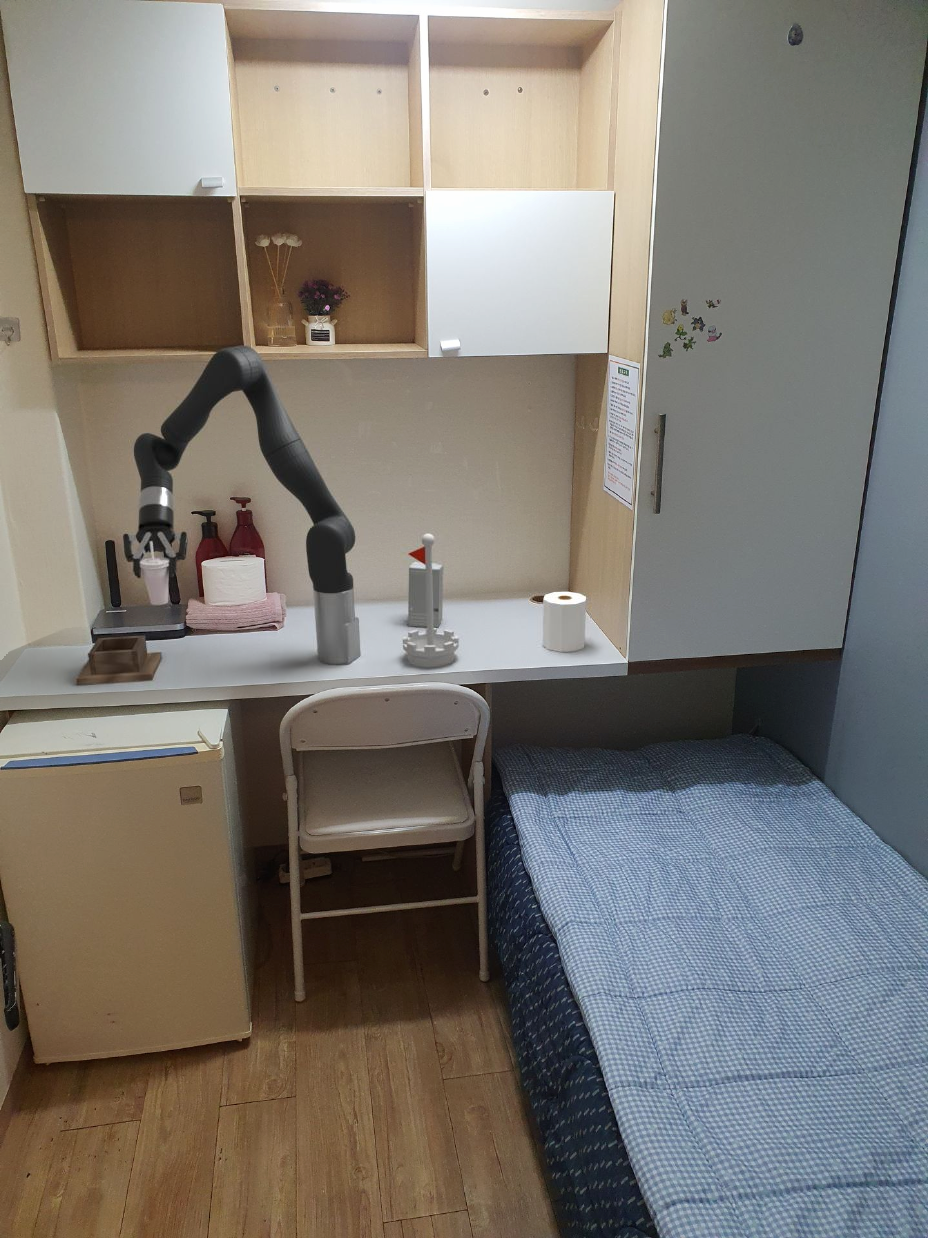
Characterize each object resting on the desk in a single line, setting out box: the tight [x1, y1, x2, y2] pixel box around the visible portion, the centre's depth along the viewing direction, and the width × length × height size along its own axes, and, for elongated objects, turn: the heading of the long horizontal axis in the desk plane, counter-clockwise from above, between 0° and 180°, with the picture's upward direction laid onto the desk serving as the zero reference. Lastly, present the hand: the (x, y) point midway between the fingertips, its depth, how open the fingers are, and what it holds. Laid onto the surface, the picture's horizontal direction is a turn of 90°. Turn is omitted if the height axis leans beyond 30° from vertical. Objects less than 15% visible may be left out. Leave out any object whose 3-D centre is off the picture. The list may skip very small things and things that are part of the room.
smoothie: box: [140, 541, 170, 606], centre depth 201 cm, size 6×6×14 cm
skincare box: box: [407, 561, 444, 628], centre depth 234 cm, size 8×7×16 cm
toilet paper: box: [542, 591, 587, 653], centre depth 218 cm, size 10×10×12 cm
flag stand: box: [402, 533, 460, 668], centre depth 208 cm, size 13×13×30 cm
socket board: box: [75, 635, 163, 686], centre depth 206 cm, size 16×14×6 cm
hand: (155, 575), depth 199 cm, fingers closed on smoothie, 6 cm apart
